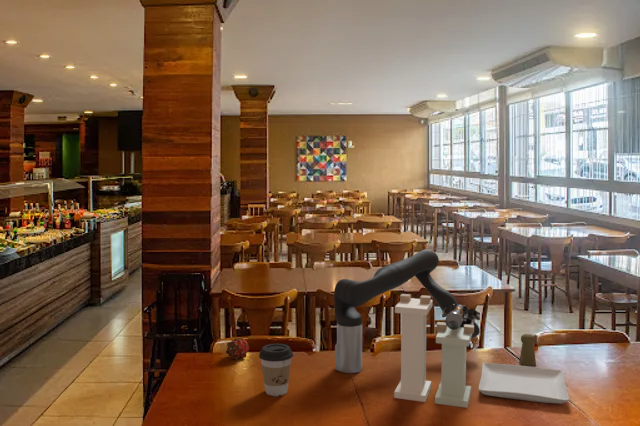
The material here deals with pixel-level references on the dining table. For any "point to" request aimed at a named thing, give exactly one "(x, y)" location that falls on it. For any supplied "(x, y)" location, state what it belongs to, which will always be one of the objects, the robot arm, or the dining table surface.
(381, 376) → the dining table surface
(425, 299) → the tall stand
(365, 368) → the dining table surface
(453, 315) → the grey bulb-ended bar
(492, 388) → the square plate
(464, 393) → the low stand
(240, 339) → the dragon fruit
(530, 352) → the olive pepper mill
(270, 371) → the coffee cup
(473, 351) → the dining table surface
